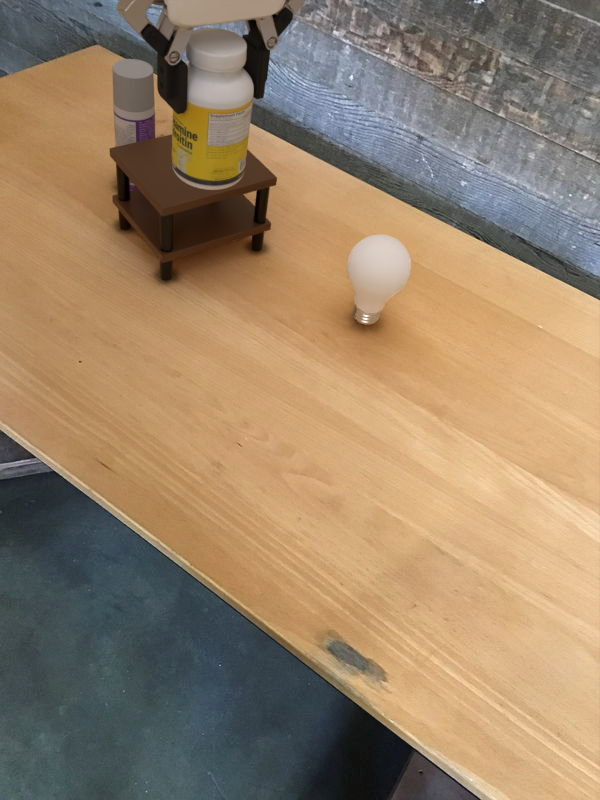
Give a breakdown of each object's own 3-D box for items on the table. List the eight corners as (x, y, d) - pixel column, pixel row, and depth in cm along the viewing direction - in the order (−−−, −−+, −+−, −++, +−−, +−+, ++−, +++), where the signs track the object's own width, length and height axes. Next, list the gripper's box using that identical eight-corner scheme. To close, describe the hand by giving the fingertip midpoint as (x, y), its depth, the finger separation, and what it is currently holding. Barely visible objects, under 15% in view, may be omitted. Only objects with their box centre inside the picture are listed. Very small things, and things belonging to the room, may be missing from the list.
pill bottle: (172, 148, 69) (175, 17, 60) (244, 155, 70) (257, 26, 61) (169, 190, 64) (172, 55, 56) (245, 196, 66) (259, 65, 57)
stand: (162, 284, 84) (162, 208, 76) (113, 224, 89) (109, 147, 82) (268, 250, 90) (277, 177, 83) (216, 196, 96) (220, 123, 88)
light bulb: (355, 292, 87) (375, 212, 79) (404, 320, 85) (430, 241, 77) (323, 321, 83) (340, 240, 75) (373, 351, 81) (397, 271, 73)
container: (151, 173, 97) (150, 57, 86) (159, 194, 94) (158, 78, 83) (114, 175, 96) (108, 58, 84) (121, 197, 93) (115, 79, 82)
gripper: (307, -184, 54) (276, 62, 68) (75, -186, 46) (93, 92, 60) (369, -149, 51) (324, 103, 64) (129, -145, 43) (135, 141, 56)
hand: (212, 96), depth 62 cm, fingers closed on pill bottle, 6 cm apart
